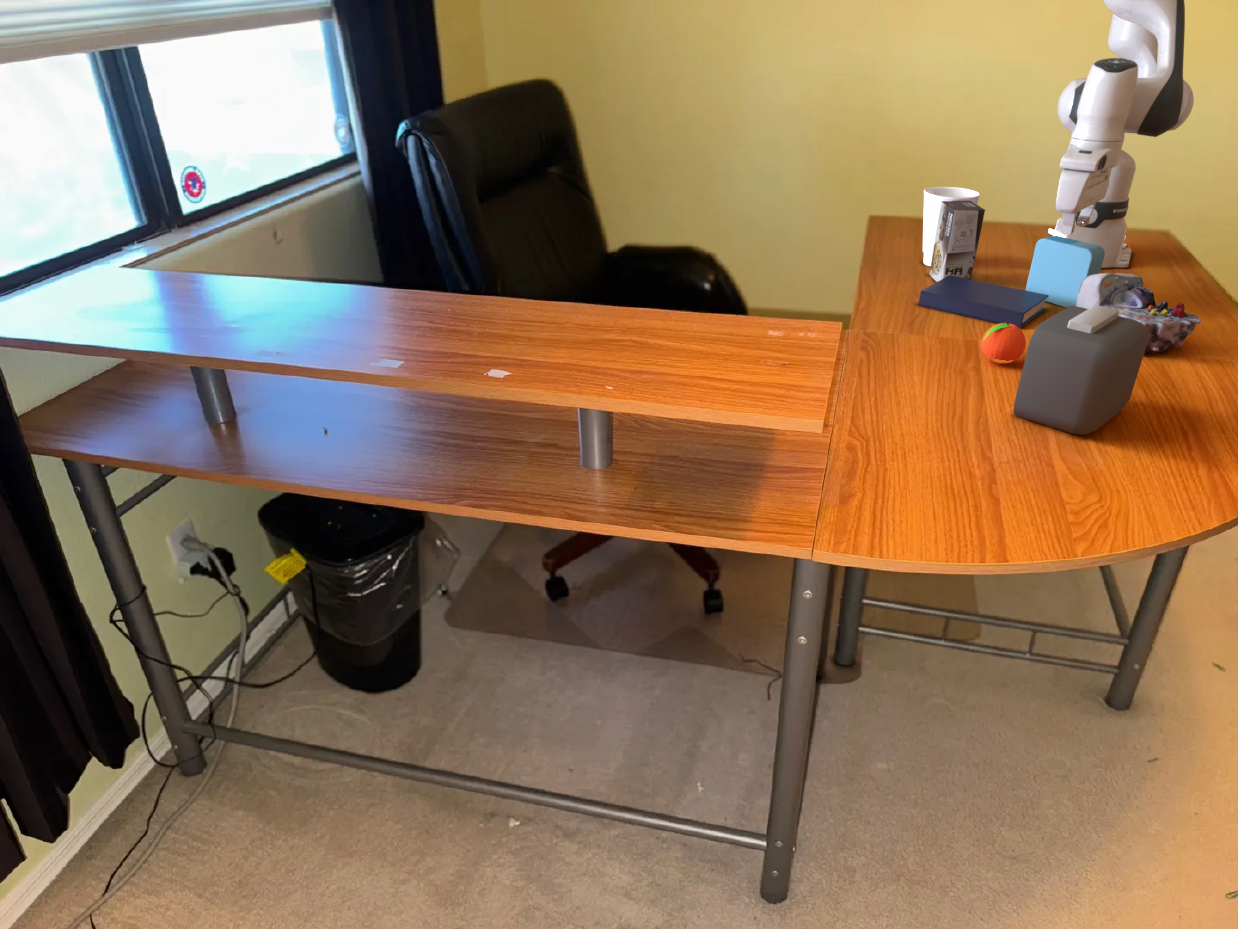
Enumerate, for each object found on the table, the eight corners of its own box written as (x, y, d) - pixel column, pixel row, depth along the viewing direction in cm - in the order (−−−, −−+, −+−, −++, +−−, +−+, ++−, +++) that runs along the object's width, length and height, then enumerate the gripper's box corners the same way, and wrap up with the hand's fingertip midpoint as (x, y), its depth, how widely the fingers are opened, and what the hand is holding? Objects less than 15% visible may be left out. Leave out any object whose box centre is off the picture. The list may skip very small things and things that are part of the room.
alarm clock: (1055, 388, 140) (1080, 294, 132) (1131, 411, 133) (1162, 312, 125) (1010, 420, 130) (1034, 319, 122) (1089, 446, 123) (1120, 341, 115)
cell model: (1121, 261, 164) (1221, 294, 148) (1104, 316, 170) (1199, 354, 154) (1069, 268, 160) (1168, 304, 144) (1054, 325, 165) (1147, 365, 149)
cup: (908, 255, 207) (919, 185, 199) (960, 257, 206) (974, 187, 198) (916, 269, 197) (928, 196, 189) (971, 272, 195) (986, 198, 188)
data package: (1091, 307, 175) (1107, 247, 169) (1077, 311, 172) (1093, 250, 167) (1036, 291, 183) (1050, 233, 178) (1023, 295, 181) (1037, 236, 175)
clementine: (992, 374, 145) (1001, 333, 142) (963, 359, 151) (971, 319, 147) (1030, 367, 148) (1039, 327, 144) (1000, 353, 153) (1008, 314, 150)
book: (946, 289, 185) (949, 275, 183) (1045, 309, 173) (1048, 295, 172) (918, 305, 176) (920, 290, 174) (1019, 328, 164) (1023, 313, 163)
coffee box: (971, 287, 186) (986, 209, 178) (940, 287, 186) (954, 209, 178) (957, 274, 194) (971, 199, 186) (928, 274, 194) (941, 199, 186)
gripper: (1091, 146, 173) (1074, 218, 179) (1058, 159, 159) (1040, 236, 166) (1126, 150, 169) (1107, 223, 176) (1095, 163, 156) (1075, 241, 162)
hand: (1074, 229), depth 171 cm, fingers open, 8 cm apart
